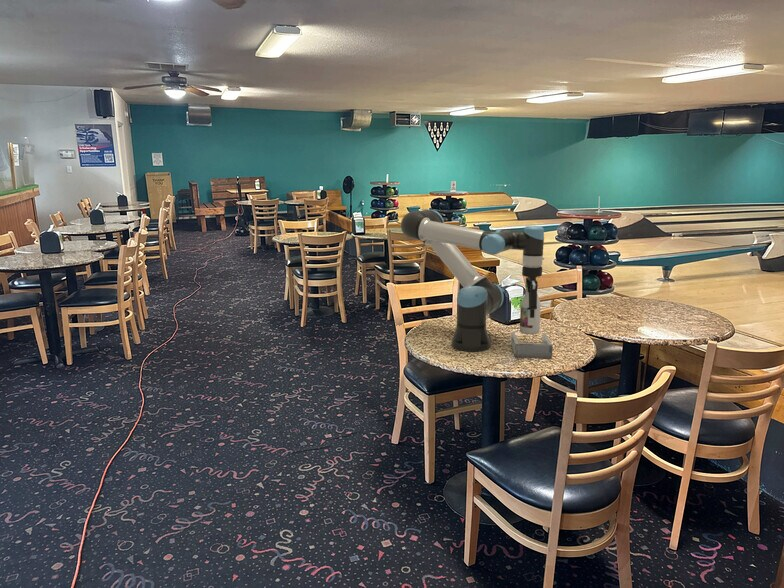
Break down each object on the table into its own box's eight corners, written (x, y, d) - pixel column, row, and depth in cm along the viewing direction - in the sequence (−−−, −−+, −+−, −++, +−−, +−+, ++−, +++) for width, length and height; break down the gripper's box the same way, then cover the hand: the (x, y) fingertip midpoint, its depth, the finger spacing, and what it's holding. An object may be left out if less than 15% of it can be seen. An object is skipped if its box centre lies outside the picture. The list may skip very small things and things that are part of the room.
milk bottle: (532, 328, 215) (534, 280, 211) (543, 333, 208) (545, 284, 203) (515, 330, 213) (517, 282, 208) (526, 335, 206) (528, 286, 201)
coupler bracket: (515, 357, 198) (516, 344, 197) (510, 343, 213) (511, 332, 212) (551, 358, 196) (552, 345, 195) (544, 344, 212) (545, 332, 211)
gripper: (546, 270, 194) (543, 329, 199) (538, 261, 214) (535, 315, 219) (526, 270, 195) (523, 329, 200) (519, 261, 215) (517, 315, 220)
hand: (529, 322), depth 209 cm, fingers closed on milk bottle, 8 cm apart
